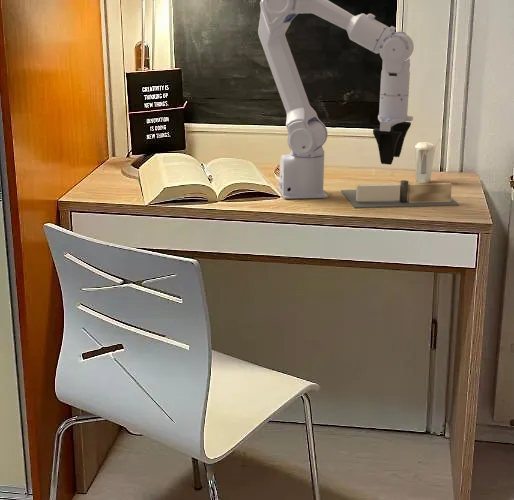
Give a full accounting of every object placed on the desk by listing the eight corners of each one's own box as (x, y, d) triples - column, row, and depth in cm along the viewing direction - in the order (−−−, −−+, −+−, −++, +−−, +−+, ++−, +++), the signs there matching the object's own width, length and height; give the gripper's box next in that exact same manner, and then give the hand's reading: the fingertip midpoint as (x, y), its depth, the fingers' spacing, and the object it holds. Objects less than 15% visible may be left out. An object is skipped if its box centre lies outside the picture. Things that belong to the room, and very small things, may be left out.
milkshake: (436, 184, 204) (439, 140, 201) (412, 183, 205) (415, 139, 202) (436, 180, 208) (439, 137, 205) (413, 178, 209) (415, 136, 206)
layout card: (354, 208, 185) (354, 206, 185) (340, 191, 198) (341, 189, 198) (458, 205, 187) (458, 203, 187) (438, 189, 200) (438, 187, 200)
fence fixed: (400, 202, 188) (401, 182, 186) (398, 200, 189) (399, 180, 188) (450, 201, 189) (452, 181, 188) (448, 199, 191) (450, 179, 189)
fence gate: (398, 198, 189) (398, 183, 188) (399, 200, 188) (400, 185, 187) (355, 199, 188) (356, 184, 187) (357, 201, 187) (357, 186, 186)
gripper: (406, 100, 175) (402, 169, 179) (420, 90, 188) (416, 154, 192) (371, 98, 177) (367, 166, 181) (387, 88, 190) (383, 152, 194)
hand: (390, 160), depth 187 cm, fingers open, 7 cm apart
